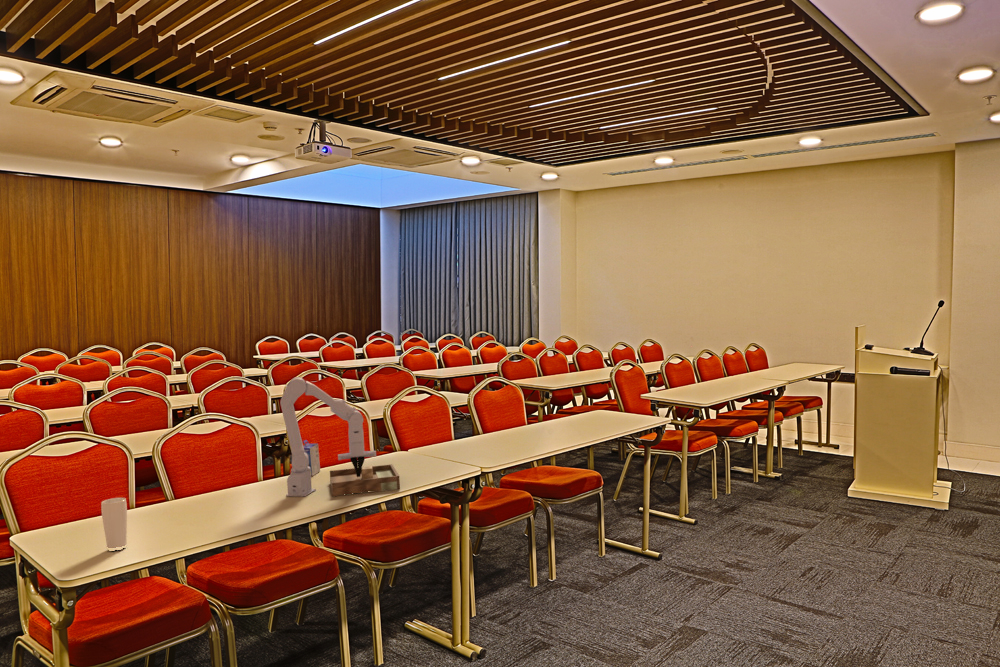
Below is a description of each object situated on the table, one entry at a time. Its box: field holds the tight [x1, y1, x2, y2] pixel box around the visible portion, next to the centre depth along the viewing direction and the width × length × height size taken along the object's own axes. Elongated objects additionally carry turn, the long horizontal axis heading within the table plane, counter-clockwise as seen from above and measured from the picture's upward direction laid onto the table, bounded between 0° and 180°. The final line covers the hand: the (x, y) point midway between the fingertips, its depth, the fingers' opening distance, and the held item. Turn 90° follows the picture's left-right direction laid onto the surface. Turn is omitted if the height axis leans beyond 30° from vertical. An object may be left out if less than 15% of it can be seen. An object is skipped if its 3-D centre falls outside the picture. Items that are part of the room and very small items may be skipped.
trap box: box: [329, 463, 401, 497], centre depth 283 cm, size 25×22×5 cm
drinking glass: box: [100, 497, 128, 548], centre depth 219 cm, size 7×7×15 cm
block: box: [361, 465, 373, 479], centre depth 283 cm, size 4×4×4 cm
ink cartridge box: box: [302, 439, 321, 477], centre depth 308 cm, size 10×6×14 cm, turn 174°
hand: (358, 476), depth 282 cm, fingers closed
